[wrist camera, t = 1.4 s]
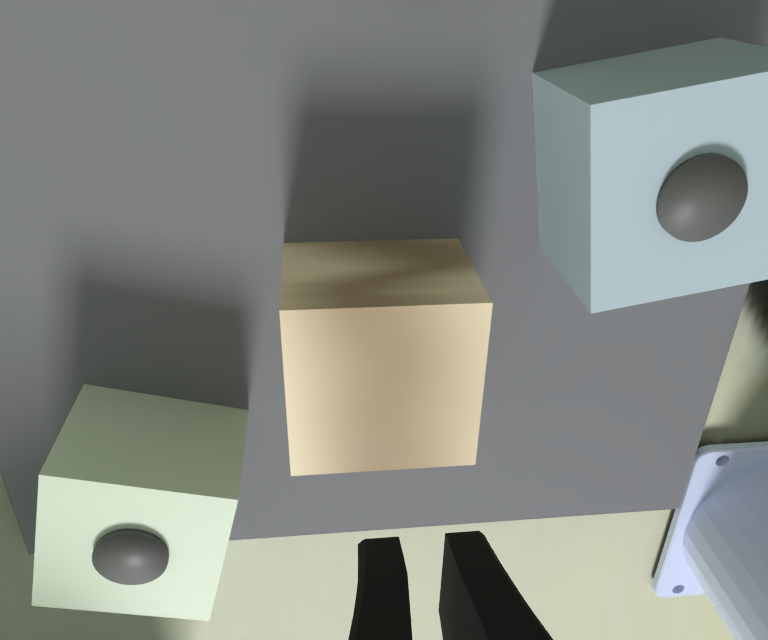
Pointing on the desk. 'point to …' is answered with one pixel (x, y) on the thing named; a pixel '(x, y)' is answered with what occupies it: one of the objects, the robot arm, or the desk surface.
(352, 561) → the desk surface
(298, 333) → the beech block
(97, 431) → the sage dotted block
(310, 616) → the desk surface
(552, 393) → the rubber mat
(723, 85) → the slate dotted block
